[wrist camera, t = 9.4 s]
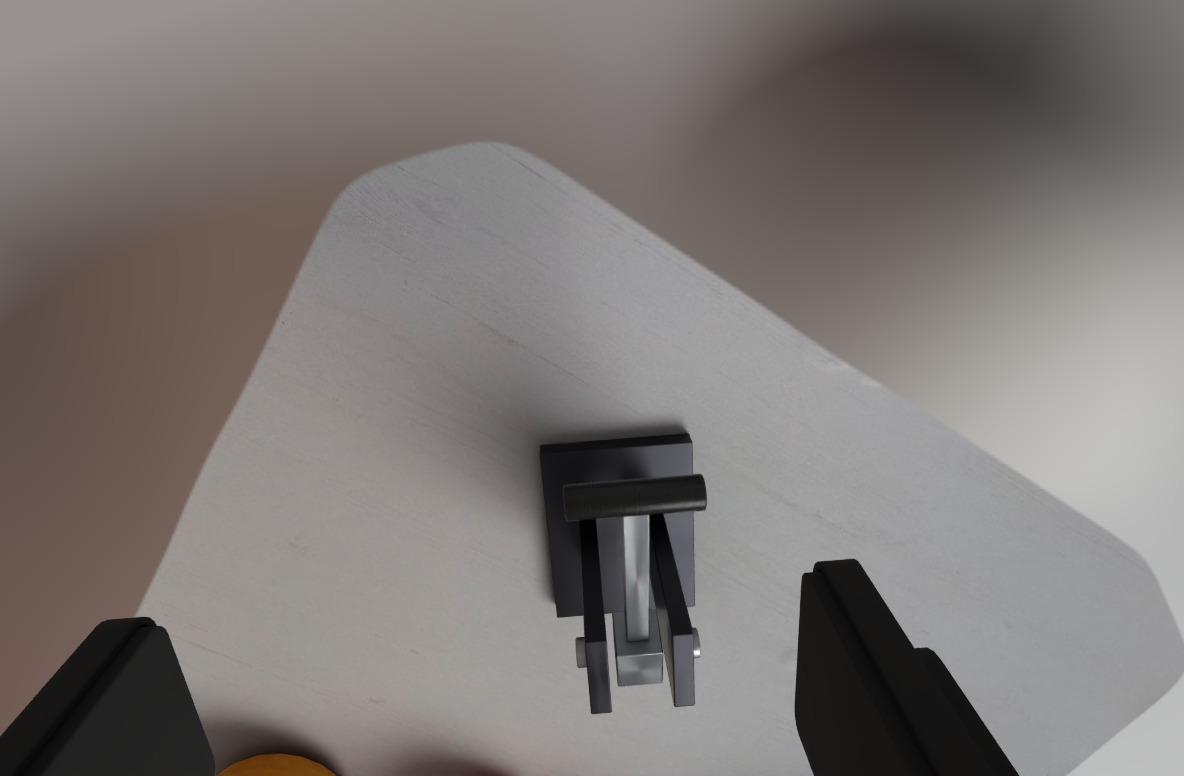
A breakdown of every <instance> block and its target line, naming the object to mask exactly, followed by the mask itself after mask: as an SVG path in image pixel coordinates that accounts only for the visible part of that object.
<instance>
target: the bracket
mask: <svg viewBox="0 0 1184 776" xmlns="http://www.w3.org/2000/svg"><path fill="white" fill-rule="evenodd" d="M540 461H541V471H542V480H543V489H544V499H545V508H546V517H547V527H548V536H549V545H550V555H551V564H552V573H553V583H554V592H555V602H556V611H557V617H558V618H559V617H571V616H583V615H584V636H585V637H578V638H576V658H577V667H578V668H583V667H587V673H588V684H589V695H590V706H591V714H600V713H611V712H612V706H611V693H610V680H609V666H608V653H607V640H606V628H605V617H604V614H607V613H613V612H624V592H623V568H622V543H621V518H620V517H618V518H606V519H593V520H581V521H566V518H565V509H564V495H563V487H564V485H566V484H579V483H591V482H604V481H616V480H629V479H641V478H654V477H666V476H679V475H691V474H693V452H692V440H691V438H690V435H689V434H677V435H664V436H651V437H639V438H626V439H614V440H601V441H588V442H576V443H563V444H550V445H541V446H540ZM649 557H650V609H656V610H657V615H658V621H659V628H660V634H661V639H662V644H663V650H664V655H665V660H666V666H667V671H668V676H669V682H670V687H671V692H672V698H673V703H674V706H675V707H681V706H693V705H694V704H695V695H694V658H699V657H700V641H699V635H698V631H697V629H696V628H692V626H691V622H690V618H689V614H688V610H687V607H692V606H695V584H694V518H693V511H692V512H680V513H668V514H655V515H649Z"/></svg>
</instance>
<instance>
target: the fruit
mask: <svg viewBox="0 0 1184 776" xmlns="http://www.w3.org/2000/svg"><path fill="white" fill-rule="evenodd" d="M216 776H337V775H335V774H334V773H332V772H331V771H330V770H328V769H327V768H326V767H324V766H323V765H321V764H319V763H316V762H314V761H311V760H309V759H306V758H304V757H300V756H294V755H287V754H281V753H280V754H265V755H257V756H254V757H251V758H248V759H245V760H242V761H239V762H236V763H233V764H231V765H230V766H229V767H227V768H226V769H224V770H223V771H222V772H220V773H219V774H217V775H216Z"/></svg>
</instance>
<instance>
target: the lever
mask: <svg viewBox="0 0 1184 776" xmlns="http://www.w3.org/2000/svg"><path fill="white" fill-rule="evenodd" d="M563 495H564V509H565V518H566V521H581V520H593V519H606V518H618V517H620V518H621V543H622V568H623V592H624V612H613V613H612V617H613V634H614V648H615V659H616V670H617V681H618V686H631V685H643V684H655V683H662V681H663V648H662V642H661V635H660V628H659V621H658V615H657V610H656V609H650V557H649V515H655V514H668V513H680V512H692V511H704V510H705V509H706V506H707V494H706V486H705V481H704V478H703V476H702V474H691V475H679V476H666V477H654V478H641V479H629V480H616V481H604V482H591V483H579V484H566V485H564V487H563Z"/></svg>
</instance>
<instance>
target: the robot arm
mask: <svg viewBox="0 0 1184 776" xmlns="http://www.w3.org/2000/svg"><path fill="white" fill-rule="evenodd" d="M795 720H796V726H797V730H798V733H799V736H800V739H801V742H802V745H803V747H804V750H805V753H806V755H807V758H808V761H809V763H810V766H811V769H812V771H813V774H814V776H1019V775H1018V773H1017V772H1016V770H1015V769H1014V767H1013V766H1012V764H1011V763H1010V761H1009V760H1008V758H1007V757H1006V755H1005V754H1004V752H1003V751H1002V749H1001V748H1000V746H999V745H998V743H997V742H996V740H995V739H994V738H993V736H992V735H991V733H990V732H989V730H988V729H987V727H986V726H985V724H984V723H983V721H982V720H981V718H980V717H979V715H978V714H977V712H976V711H975V709H974V708H973V706H972V705H971V703H970V702H969V701H968V699H967V698H966V696H965V695H964V693H963V692H962V690H961V689H960V687H959V686H958V684H957V683H956V681H955V680H954V678H953V677H952V675H951V674H950V672H949V671H948V669H947V668H946V666H945V665H944V664H943V662H942V661H941V659H940V658H939V657H938V656H937V655H936V653H935V652H934V651H932V650H931V649H929V648H927V647H926V648H914V647H913V645H912V644H911V642H910V641H909V639H908V638H907V636H906V635H905V633H904V631H903V630H902V628H901V627H900V625H899V624H898V622H897V621H896V619H895V617H894V616H893V614H892V613H891V611H890V610H889V608H888V607H887V605H886V603H885V602H884V600H883V599H882V597H881V596H880V594H879V592H878V591H877V589H876V588H875V586H874V585H873V583H872V582H871V580H870V578H869V577H868V575H867V574H866V572H865V571H864V569H863V568H862V566H861V564H860V563H859V562H858V561H857V560H855V559H845V560H833V561H821V562H816V563H815V565H814V568H813V572H810V573H804V574H803V576H802V581H801V599H800V618H799V636H798V654H797V673H796V691H795ZM214 770H215V761H214V757H213V754H212V751H211V748H210V746H209V743H208V740H207V738H206V735H205V732H204V730H203V727H202V724H201V721H200V719H199V716H198V713H197V711H196V708H195V705H194V703H193V700H192V697H191V694H190V692H189V689H188V686H187V684H186V681H185V678H184V676H183V673H182V670H181V667H180V665H179V662H178V659H177V657H176V654H175V651H174V649H173V646H172V643H171V640H170V638H169V635H168V633H167V631H166V629H165V628H163V627H162V626H157V625H156V623H155V621H153V620H152V619H151V618H149V617H136V618H124V619H112V620H106V621H103V622H101V623H100V624H99V625H98V626H96V627H95V628H94V630H93V631H92V632H91V633H90V634H89V635H88V637H87V638H86V639H85V640H84V641H83V642H82V643H81V644H80V646H79V647H78V648H77V649H76V650H75V651H74V653H73V654H72V655H71V656H70V657H69V659H67V661H66V662H65V663H64V664H63V665H62V666H61V667H60V669H59V670H58V671H57V672H56V673H55V674H54V675H53V677H52V678H51V679H50V680H49V681H48V682H47V683H46V685H45V686H44V687H43V688H42V689H41V690H40V691H39V693H38V694H37V695H36V696H35V697H34V698H33V700H32V701H31V702H30V703H29V704H28V705H27V707H26V708H25V709H24V710H23V711H22V712H21V713H20V714H19V716H18V717H17V718H16V719H15V720H14V721H13V722H12V724H11V725H10V726H9V727H8V728H7V729H6V731H5V732H4V733H3V734H2V735H1V736H0V776H214Z"/></svg>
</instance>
